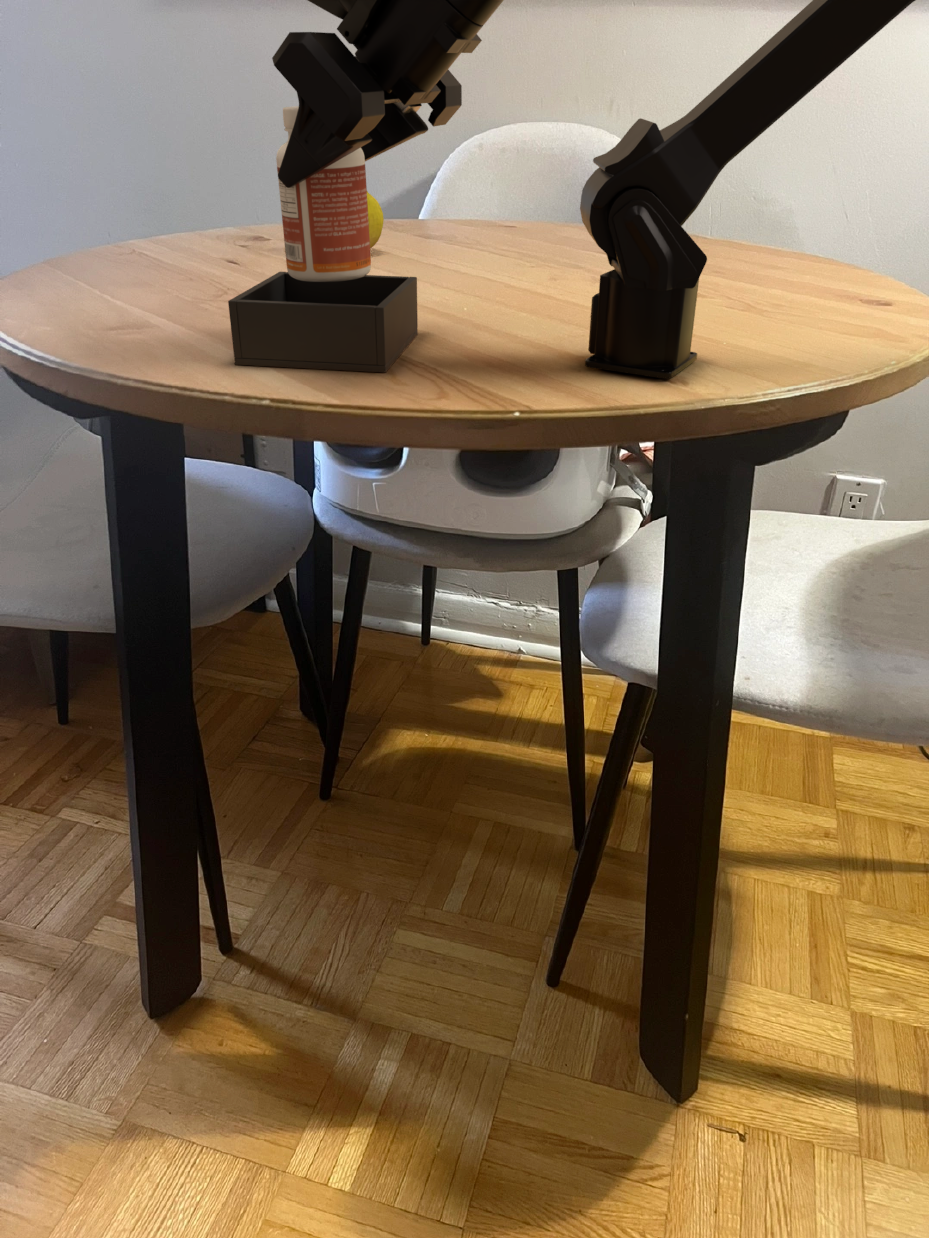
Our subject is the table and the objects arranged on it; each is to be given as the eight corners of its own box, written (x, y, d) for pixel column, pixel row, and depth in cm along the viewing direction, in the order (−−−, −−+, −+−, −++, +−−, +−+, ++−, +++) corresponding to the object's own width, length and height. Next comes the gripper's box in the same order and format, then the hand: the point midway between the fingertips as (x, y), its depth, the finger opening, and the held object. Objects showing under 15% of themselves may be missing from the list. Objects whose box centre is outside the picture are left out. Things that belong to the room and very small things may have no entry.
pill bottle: (384, 270, 75) (376, 104, 69) (352, 286, 70) (342, 108, 64) (308, 266, 76) (295, 104, 71) (272, 281, 71) (255, 108, 66)
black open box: (417, 335, 80) (417, 277, 77) (385, 373, 70) (383, 307, 68) (284, 328, 81) (279, 271, 79) (234, 364, 72) (227, 300, 69)
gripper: (417, -99, 68) (288, 83, 77) (287, -145, 53) (145, 90, 61) (524, 32, 70) (387, 197, 78) (429, 26, 54) (271, 231, 63)
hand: (305, 177), depth 70 cm, fingers closed on pill bottle, 6 cm apart
